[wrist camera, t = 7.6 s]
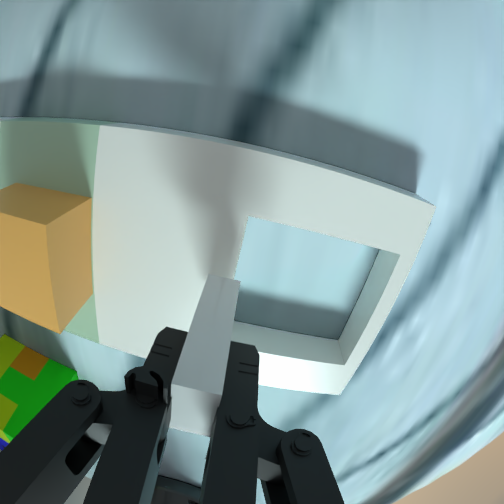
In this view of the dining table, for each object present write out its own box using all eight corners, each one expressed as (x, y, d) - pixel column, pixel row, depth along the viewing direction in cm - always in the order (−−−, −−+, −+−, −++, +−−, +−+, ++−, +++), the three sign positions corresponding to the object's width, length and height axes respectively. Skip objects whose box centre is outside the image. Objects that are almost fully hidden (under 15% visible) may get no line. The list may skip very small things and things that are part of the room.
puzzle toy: (24, 387, 27) (-10, 442, 18) (4, 333, 23) (-45, 394, 14) (88, 420, 28) (60, 485, 19) (76, 370, 24) (32, 450, 15)
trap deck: (334, 370, 21) (339, 395, 19) (-26, 266, 20) (-42, 278, 17) (415, 193, 15) (436, 206, 13) (-37, 119, 14) (-58, 124, 11)
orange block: (92, 293, 16) (60, 334, 13) (23, 268, 16) (-12, 299, 12) (91, 197, 14) (45, 225, 10) (16, 182, 14) (-30, 203, 10)
